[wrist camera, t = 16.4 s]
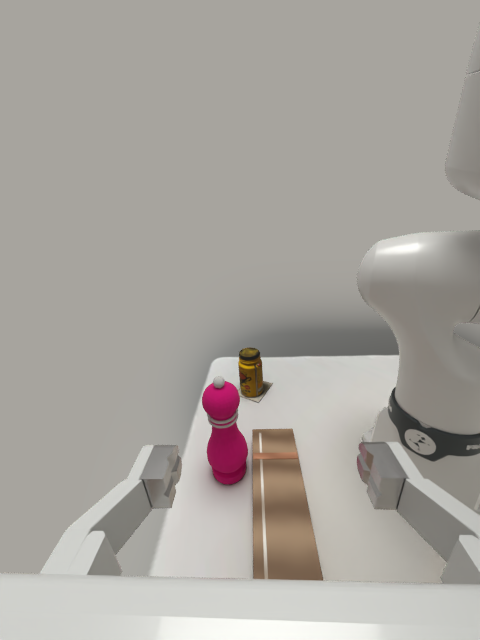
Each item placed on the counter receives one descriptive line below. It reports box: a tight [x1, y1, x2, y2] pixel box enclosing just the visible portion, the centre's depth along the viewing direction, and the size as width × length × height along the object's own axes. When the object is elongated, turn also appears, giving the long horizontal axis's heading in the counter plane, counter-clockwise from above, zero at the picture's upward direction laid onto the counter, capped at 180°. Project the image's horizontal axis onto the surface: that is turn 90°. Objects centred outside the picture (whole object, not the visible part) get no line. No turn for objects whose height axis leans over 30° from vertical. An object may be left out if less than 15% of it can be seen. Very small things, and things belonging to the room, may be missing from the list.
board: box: [253, 429, 323, 581], centre depth 35 cm, size 28×8×3 cm, turn 178°
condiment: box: [238, 348, 273, 402], centre depth 62 cm, size 7×8×12 cm
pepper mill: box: [202, 376, 248, 484], centre depth 40 cm, size 7×7×20 cm
